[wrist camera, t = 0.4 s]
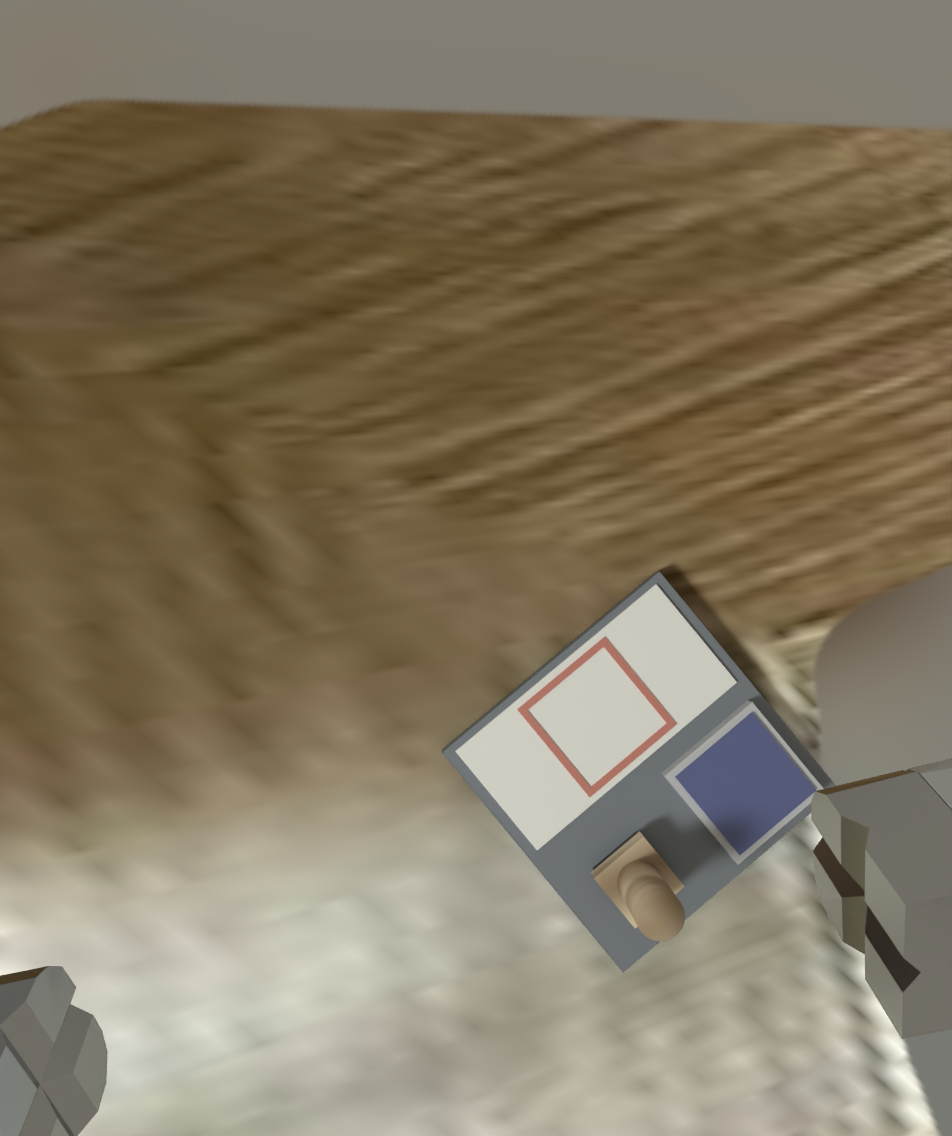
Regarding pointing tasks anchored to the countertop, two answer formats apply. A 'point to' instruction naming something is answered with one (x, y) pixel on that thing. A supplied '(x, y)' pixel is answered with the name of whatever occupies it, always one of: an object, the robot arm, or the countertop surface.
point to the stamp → (642, 888)
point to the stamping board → (638, 761)
